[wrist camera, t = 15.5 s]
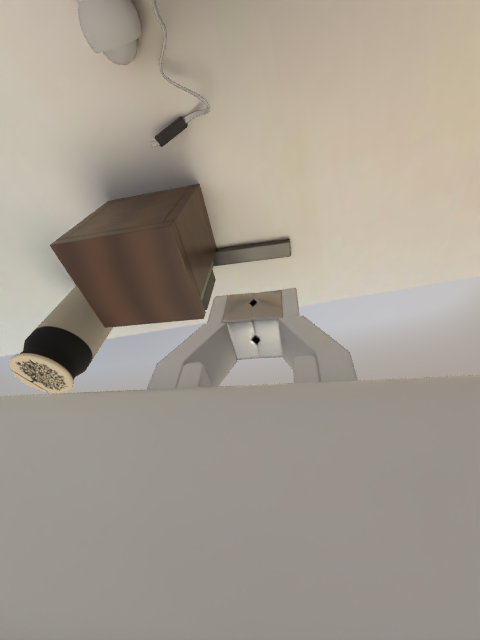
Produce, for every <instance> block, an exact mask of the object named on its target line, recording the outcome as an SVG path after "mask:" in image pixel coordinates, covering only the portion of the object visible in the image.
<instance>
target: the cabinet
mask: <svg viewBox="0 0 480 640" xmlns="http://www.w3.org/2000/svg"><path fill="white" fill-rule="evenodd" d="M50 246H51V248H52V249H53V251H54V252H55V254H56V255H57V257H58V258H59V260H60V261H61V263H62V264H63V266H64V267H65V269H66V270H67V272H68V273H69V275H70V276H71V278H72V279H73V281H74V282H75V284H76V285H77V287H78V288H79V290H80V291H81V293H82V294H83V296H84V297H85V299H86V300H87V302H88V303H89V305H90V306H91V308H92V309H93V311H94V312H95V314H96V315H97V317H98V318H99V320H100V321H101V323H102V324H103V326H104V327H105V328H107V327H118V326H129V325H140V324H151V323H162V322H172V321H183V320H194V319H204V316H205V313H206V312H205V309H204V306H203V303H202V300H201V295H202V292H203V289H204V285H205V282H206V279H207V276H208V273H209V270H210V267H211V264H212V261H213V262H214V265H213V266H218V265H226V264H234V263H242V262H250V261H257V260H265V259H273V258H281V257H289V256H291V251H290V240H289V239H286V240H279V241H272V242H265V243H258V244H251V245H244V246H237V247H229V248H222V249H217V248H216V244H215V241H214V237H213V233H212V229H211V226H210V222H209V218H208V214H207V210H206V207H205V203H204V199H203V195H202V192H201V188H200V184H197V185H191V186H186V187H181V188H175V189H170V190H165V191H160V192H154V193H149V194H144V195H138V196H133V197H128V198H122V199H117V200H112V201H108V202H106V203H105V204H104V205H102V206H101V207H100V208H99V209H97V210H96V211H95V212H93V213H92V214H91V215H89V216H88V217H87V218H85V219H84V220H83V221H81V222H80V223H79V224H77V225H76V226H75V227H73V228H72V229H71V230H69V231H68V232H67V233H65V234H64V235H63V236H61V237H60V238H59V239H57V240H56V241H55V242H54V243H52V244H51V245H50Z"/></svg>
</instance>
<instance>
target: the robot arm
mask: <svg viewBox="0 0 480 640" xmlns="http://www.w3.org/2000/svg"><path fill="white" fill-rule="evenodd" d="M271 357H283V358H284V359H285V361H286V362H287V363H288V364H289V366H290V367H291V368H292V370H293V372H294V383H288V384H265V385H264V384H263V385H241V386H219V385H220V383H221V382H222V381H223V379H224V378H225V377H226V375H227V374H228V373H229V372H230V370H231V369H232V368H233V366H234V365H235V364H236V362H237V360H241V359H252V358H271ZM218 386H219V387H218ZM0 640H480V375H468V376H447V377H424V378H401V379H380V380H357V376H356V372H355V369H354V365H353V362H352V358H351V355H350V352H349V351H348V350H346V349H345V348H344V347H343V346H341V345H340V344H339V343H338V342H336V341H335V340H334V339H332V338H331V337H330V336H329V335H327V334H326V333H325V332H323V331H322V330H321V329H320V328H318V327H317V326H316V325H315V324H313V323H312V322H311V321H309V320H308V319H307V318H306V317H304V316H299V307H298V298H297V289H296V288H291V289H283V290H278V291H270V292H261V293H248V294H237V295H229V296H228V295H225V296H216V297H215V298H214V300H213V304H212V308H211V311H210V315H209V319H208V322H207V324H204V325H202V326H201V327H200V328H199V329H198V330H196V331H195V332H194V333H193V334H192V335H190V336H189V337H188V338H187V339H186V340H185V341H184V342H182V343H181V344H180V345H179V346H178V347H176V348H175V349H174V350H173V351H172V352H170V353H169V354H168V355H167V356H166V357H165V358H163V359H162V360H161V361H160V362H159V363H157V365H156V368H155V371H154V373H153V375H152V378H151V380H150V382H149V385H148V387H147V390H129V391H107V392H106V391H105V392H83V393H60V394H39V395H38V394H37V395H15V396H0Z"/></svg>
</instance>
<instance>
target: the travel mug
mask: <svg viewBox="0 0 480 640" xmlns="http://www.w3.org/2000/svg"><path fill="white" fill-rule="evenodd" d="M112 328H113V327H107V328H105V327H104V326H103V324H102V323H101V321H100V320H99V318H98V317H97V315H96V314H95V312H94V311H93V309H92V308H91V306H90V305H89V303H88V302H87V300H86V299H85V297H84V296H83V294H82V293H81V291H80V290H79V288H78V287H77V286H76V287H75V288H74V289H73V290H72V291H71V292H70V293H69V294H68V295H67V296H66V297H65V298H64V299H63V301H62V302H61V303H60V304H59V305H58V306H57V307H56V308H55V309H54V310H53V311H52V312H51V313H50V314H49V315H48V316H47V318H46V319H45V320H44V321H43V322H42V323H41V324H40V325H39V326H38V327H37V328H36V329H35V330H34V331H33V332H32V333H31V335H30V336H29V337H28V338H27V339H26V340H25V343H24V350H23V352H21V353H20V354H17V355H15V356H13V357H12V358H11V359H10V362H9V366H10V369H11V371H12V372H13V374H14V375H15V376H16V377H17V378H18V379H19V380H21V381H22V382H24V383H25V384H27V385H29V386H31V387H33V388H35V389H38V390H41V391H44V392H49V393H64V392H67V391H69V390H70V389H71V388H72V387H73V384H74V382H73V380H74V378H75V377H76V376H77V375H79V374H81V373H83V372H84V371H85V370H86V369H87V367H88V366H89V364H90V362H91V361H92V359H93V358H94V356H95V355H96V353H97V351H98V350H99V348H100V347H101V345H102V343H103V342H104V341H105V339H106V337H107V336H108V334H109V333H110V331H111V330H112Z"/></svg>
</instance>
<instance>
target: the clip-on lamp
mask: <svg viewBox="0 0 480 640" xmlns="http://www.w3.org/2000/svg"><path fill="white" fill-rule="evenodd" d="M77 1H78V3H79V9H78V11H79V21H80V25H81V28H82V31H83V34H84V36H85V38H86V40H87V42H88V43H89V45H90V46H91V48H92V49H93V50H94V51H95V52H96V53H100V52H103V53H104V54H105V56H106V57H107V58H108V59H109V60H111V61H112V62H114V63H116V64H119V65H127V64H129V63H130V62H132V60H133V59H134V58H135V55H136V51H137V40H136V39H138V38H140V37H141V36H142V28H141V22H140V19H139V15H138V13H137V11H136V8H135V7H134V5H133V3H132V1H131V0H77ZM152 5H153V10H154V12H155V15H156V17H157V19H158V21H159V23H160V25H161V27H162V30H163V34H164V41H163V47H162V51H161V56H160V62H159V67H160V72H161V74H162V75H163V77H164V78H165V79H166V80H167V81H168V82H169V83H171V84H173V85H174V86H176V87H178V88H180V89H182V90H184V91H186V92H188V93H190V94H192V95H194V96H196V97H197V98H199V99H200V100H201V101H202V102H203V103H204V104H205V105H206V106H207V109H205V110H199V111H195V112H192V113H190V114H189V115H187V116H186V117H184V118H183V117H179V118H178V119H176V120H175V121H174V122H173V123H171V124H170V125H169V126H168V127H166V128H165V129H164V130H163V131H161V132H160V133H159V134H158V135H156V136H155V139H156V141H153V142H151V146H152V147H156V146H161V147H163V146H164V145H165V144H166V143H168V142H169V141H170V140H171V139H173V138H174V137H175V136H176V135H178V134H179V133H180V132H182V131H183V130H184V129H185V128H187V124H186V123H187V122H188V121H190V120H191V119H193V118H195V117H197V116H200V115H204V114H208V113H209V112H210V106H209V104H208V102H207V101H206V100H205V99H204V98H203V97H201V96H200V95H198V94H197V93H195V92H193V91H191V90H189V89H187V88H185V87H183V86H181V85H179V84H177V83H175V82H173V81H171V80H170V79H169V78H167V77H166V76H165V75H164V73H163V70H162V59H163V54H164V50H165V45H166V35H167V33H166V28H165V25H164V23H163V21H162V19H161V17H160V15H159V12H158V10H157V5H156V0H152Z"/></svg>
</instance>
